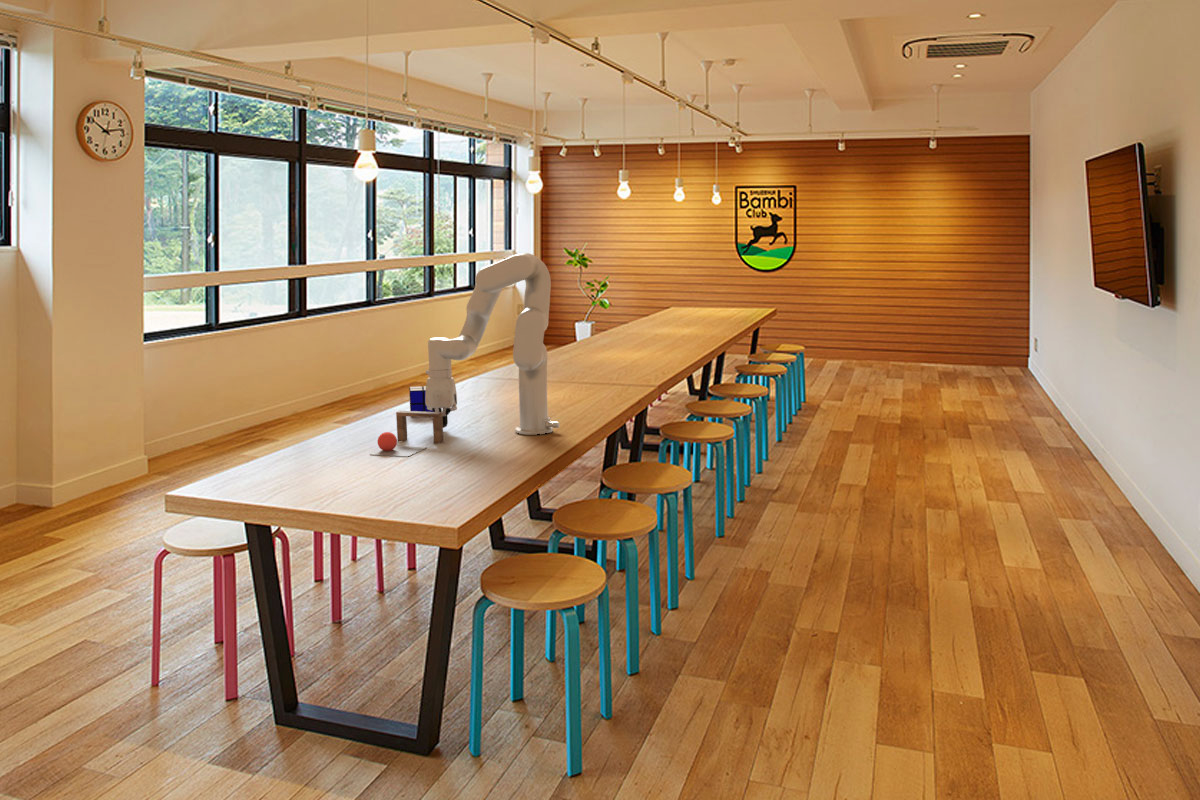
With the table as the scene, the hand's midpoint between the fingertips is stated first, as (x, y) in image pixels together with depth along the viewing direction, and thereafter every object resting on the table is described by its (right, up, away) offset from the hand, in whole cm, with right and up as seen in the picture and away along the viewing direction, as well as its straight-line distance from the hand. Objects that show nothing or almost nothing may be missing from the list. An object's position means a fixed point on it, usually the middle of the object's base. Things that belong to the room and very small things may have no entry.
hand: (442, 426), depth 345 cm
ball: (-13, -4, -30) cm, 32 cm away
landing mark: (-9, -7, -30) cm, 32 cm away
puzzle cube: (-12, +4, +33) cm, 35 cm away
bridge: (-5, -4, -16) cm, 17 cm away
